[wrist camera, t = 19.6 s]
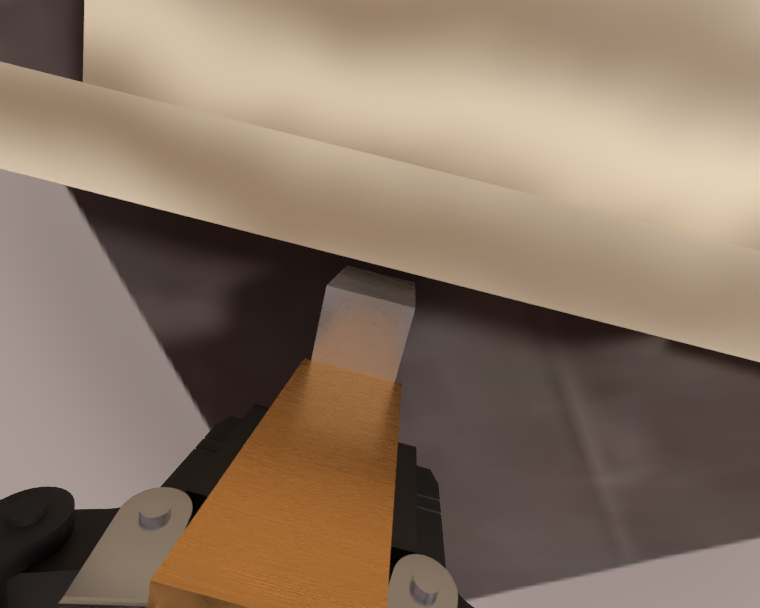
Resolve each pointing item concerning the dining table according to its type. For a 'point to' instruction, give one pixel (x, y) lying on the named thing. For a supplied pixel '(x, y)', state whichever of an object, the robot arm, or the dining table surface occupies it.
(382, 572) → the scraper
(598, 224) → the channel board
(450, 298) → the dining table surface
